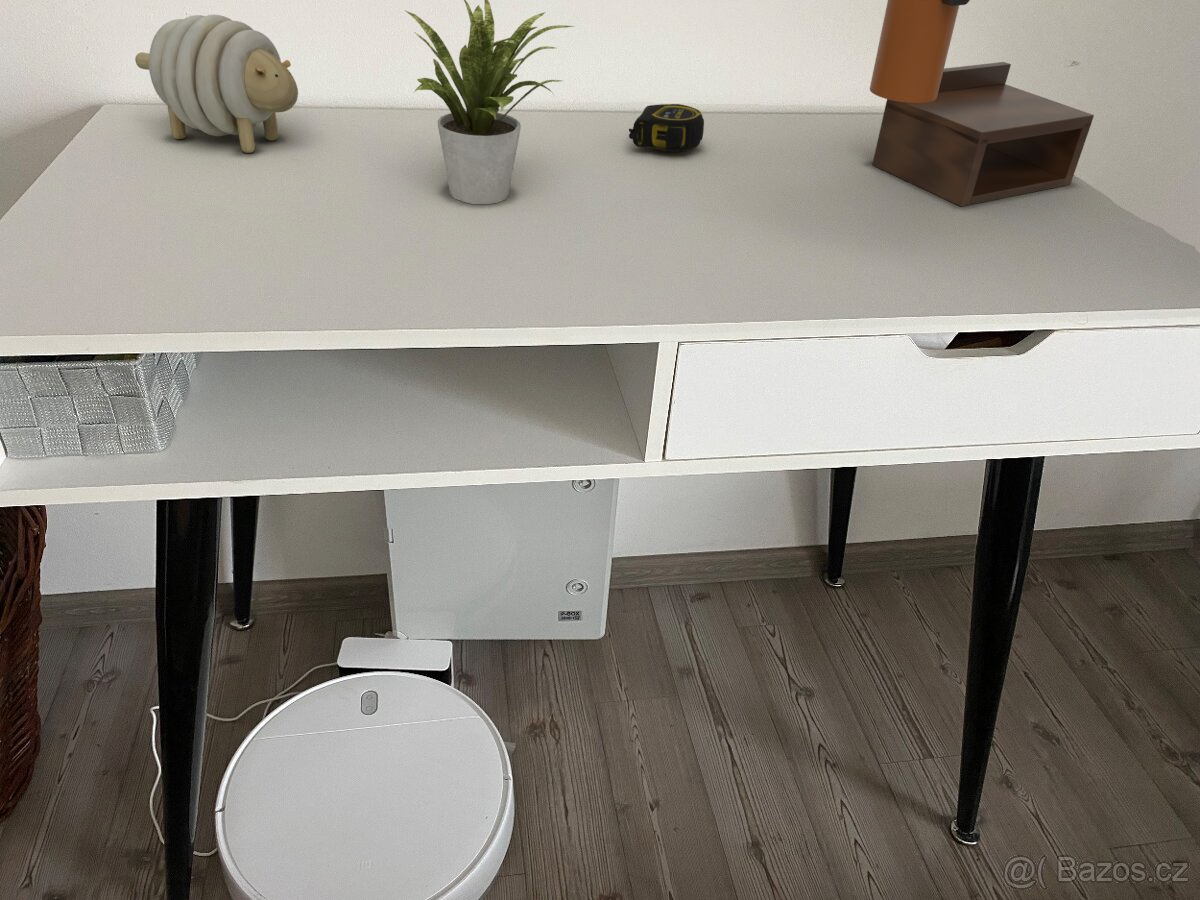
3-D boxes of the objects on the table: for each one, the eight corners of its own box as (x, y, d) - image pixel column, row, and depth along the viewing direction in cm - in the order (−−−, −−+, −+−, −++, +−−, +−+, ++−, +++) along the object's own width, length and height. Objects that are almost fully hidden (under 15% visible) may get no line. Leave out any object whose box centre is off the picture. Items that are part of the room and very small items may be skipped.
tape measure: (643, 133, 107) (646, 97, 105) (707, 143, 105) (711, 106, 103) (626, 152, 101) (630, 115, 99) (693, 163, 100) (698, 125, 98)
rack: (1070, 184, 102) (1101, 94, 97) (960, 206, 95) (988, 110, 90) (979, 147, 111) (1003, 61, 105) (871, 164, 103) (892, 74, 98)
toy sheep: (274, 169, 91) (258, 39, 85) (109, 141, 94) (82, 14, 88) (329, 134, 100) (319, 15, 93) (176, 110, 103) (156, -8, 96)
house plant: (600, 215, 87) (614, 14, 78) (452, 240, 81) (448, 24, 72) (523, 161, 97) (528, -23, 88) (386, 179, 91) (376, -17, 82)
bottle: (950, 99, 76) (993, -71, 70) (903, 106, 74) (943, -70, 67) (902, 81, 79) (939, -83, 73) (855, 87, 77) (889, -81, 71)
